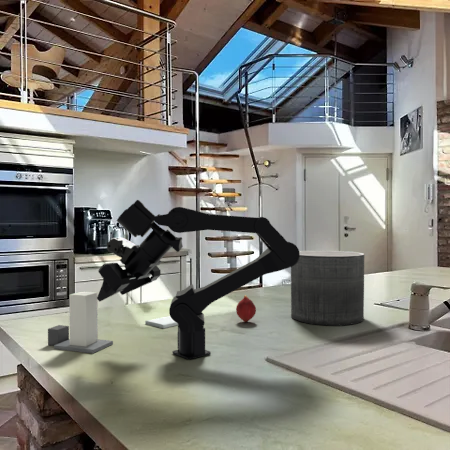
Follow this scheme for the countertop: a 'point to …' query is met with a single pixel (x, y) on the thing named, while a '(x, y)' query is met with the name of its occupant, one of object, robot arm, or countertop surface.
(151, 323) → the external hard drive
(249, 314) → the onion
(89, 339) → the brick
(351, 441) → the countertop surface
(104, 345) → the charging dock
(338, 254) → the planter
